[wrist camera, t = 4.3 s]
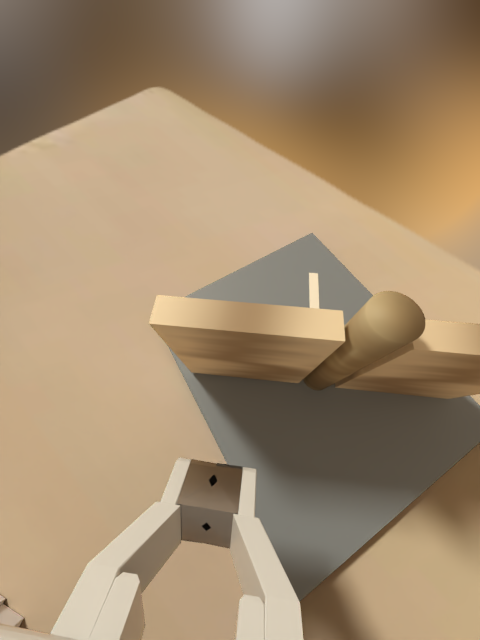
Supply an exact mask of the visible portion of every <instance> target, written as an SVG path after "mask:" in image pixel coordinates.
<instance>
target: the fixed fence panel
mask: <svg viewBox="0 0 480 640" xmlns="http://www.w3.org/2000/svg"><path fill="white" fill-rule="evenodd" d="M344 330H345V342H344V343H343V344H342V345H341V346H340V347H339V348H337V349H336V350H335V351H334V352H333V353H332V354H331V355H330V356H328V357H327V358H326V359H325V360H324V361H323V362H322V363H321V364H319V365H318V366H317V367H316V368H315V369H314V370H313V371H312V372H311V373H309V374H308V375H307V376H306V377H305V378H304V379H303V380H304V382H305V384H306V385H307V386H308V387H309V388H311V389H313V390H323V389H325V388H327V387H329V386H331V385H332V384H334V383H335V388H345V389H355V390H365V391H375V392H385V393H394V394H404V395H414V396H424V397H434V398H444V399H451V398H457V397H463V396H470V395H476V394H480V324H473V323H461V322H449V321H437V320H425V317H424V314H423V312H422V310H421V308H420V307H419V306H418V305H417V304H416V303H415V302H414V301H413V300H412V299H410V298H409V297H407V296H406V295H403V294H401V293H398V292H393V291H384V292H380V293H377V294H375V295H374V296H372V297H371V298H370V299H369V300H368V301H367V303H366V304H365V305H364V306H363V307H362V308H361V309H360V310H359V311H358V312H357V313H356V314H355V315H354V316H353V317H352V318H351V319H350V320H349V322H348V323H347V324H346V325H345V326H344Z"/></svg>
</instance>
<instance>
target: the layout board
mask: <svg viewBox="0 0 480 640" xmlns="http://www.w3.org/2000/svg"><path fill="white" fill-rule="evenodd" d="M372 296H373V295H372V294H371V293H370V292H369V291H368V290H367V289H366V288H365V287H364V286H363V285H362V284H361V283H360V282H359V281H358V280H357V279H356V278H355V277H354V276H353V275H352V274H351V272H350V271H349V270H348V269H347V268H346V267H345V266H344V265H343V264H342V263H341V262H340V261H339V260H338V259H337V258H336V257H335V256H334V255H333V254H332V253H331V252H330V251H329V250H328V249H327V248H326V247H325V246H324V245H323V244H322V243H321V242H320V240H319V239H318V238H317V237H316V236H315V235H314V234H313V233H311V234H309V235H307V236H305V237H303V238H301V239H299V240H297V241H295V242H293V243H291V244H289V245H287V246H285V247H283V248H281V249H279V250H277V251H275V252H273V253H271V254H269V255H267V256H265V257H263V258H261V259H259V260H257V261H255V262H253V263H251V264H249V265H247V266H245V267H243V268H241V269H239V270H237V271H235V272H233V273H231V274H229V275H227V276H225V277H223V278H221V279H219V280H217V281H215V282H213V283H211V284H209V285H207V286H205V287H203V288H201V289H199V290H197V291H195V292H194V293H192V294H190V295H188V296H186V298H198V299H210V300H222V301H234V302H246V303H258V304H270V305H282V306H294V307H306V308H318V309H330V310H341V311H343V318H344V326H345V325H346V324H347V323H348V322H349V320H350V319H351V318H352V317H353V316H354V315H355V314H356V313H357V312H358V311H359V310H360V309H361V308H362V307H363V306H364V305H365V304H366V303H367V301H368V300H369V299H370V298H371V297H372ZM168 347H169V346H168ZM169 349H170V351H171V353H172V355H173V357H174V359H175V361H176V363H177V365H178V367H179V369H180V371H181V373H182V375H183V377H184V379H185V381H186V383H187V385H188V387H189V389H190V391H191V393H192V395H193V397H194V399H195V401H196V402H197V404H198V406H199V408H200V410H201V412H202V414H203V416H204V418H205V420H206V422H207V424H208V426H209V428H210V430H211V432H212V434H213V436H214V438H215V440H216V442H217V444H218V446H219V448H220V450H221V452H222V454H223V456H224V458H225V460H226V462H227V464H228V465H235V466H242V467H246V468H254V469H256V471H257V476H256V501H255V517H257V518H259V519H260V521H261V523H262V525H263V527H264V529H265V531H266V533H267V535H268V538H269V540H270V542H271V544H272V546H273V548H274V550H275V552H276V554H277V556H278V558H279V560H280V562H281V564H282V567H283V569H284V571H285V573H286V575H287V577H288V579H289V581H290V583H291V585H292V587H293V589H294V591H295V594H296V596H297V598H298V600H299V602H300V601H301V600H302V599H303V598H304V597H305V596H306V595H308V594H309V593H310V592H311V591H312V590H313V589H314V588H315V587H317V586H318V585H319V584H320V583H321V582H322V581H323V580H325V579H326V578H327V577H328V576H329V575H330V574H331V573H332V572H334V571H335V570H336V569H337V568H338V567H339V566H340V565H342V564H343V563H344V562H345V561H346V560H347V559H348V558H349V557H351V556H352V555H353V554H354V553H355V552H356V551H357V550H358V549H360V548H361V547H362V546H363V545H364V544H365V543H366V542H368V541H369V540H370V539H371V538H372V537H373V536H374V535H375V534H377V533H378V532H379V531H380V530H381V529H382V528H383V527H384V526H386V525H387V524H388V523H389V522H390V521H391V520H392V519H394V518H395V517H396V516H397V515H398V514H399V513H400V512H401V511H403V510H404V509H405V508H406V507H407V506H408V505H409V504H411V503H412V502H413V501H414V500H415V499H416V498H417V497H418V496H420V495H421V494H422V493H423V492H424V491H425V490H426V489H427V488H429V487H430V486H431V485H432V484H433V483H434V482H435V481H437V480H438V479H439V478H440V477H441V476H442V475H443V474H444V473H446V472H447V471H448V470H449V469H450V468H451V467H452V466H454V465H455V464H456V463H457V462H458V461H459V460H460V459H461V458H463V457H464V456H465V455H466V454H467V453H468V452H469V451H470V450H472V449H473V448H474V447H475V446H476V445H477V444H478V443H480V406H479V405H478V404H477V403H476V401H475V400H474V399H473V398H472V397H471V396H463V397H457V398H451V399H444V398H434V397H424V396H414V395H404V394H394V393H385V392H375V391H365V390H355V389H345V388H335V383H334V384H332V385H331V386H329V387H327V388H325V389H323V390H313V389H311V388H309V387H308V386H307V385H306V384H305V382H304V380H302V381H300V382H299V383H290V382H280V381H270V380H260V379H250V378H240V377H231V376H221V375H211V374H201V373H192V372H191V371H190V370H189V369H188V368H187V367H186V366H185V364H184V363H183V362H182V361H181V360H180V359H179V358H178V356H177V355H176V354H175V353H174V352H173V351H172V350H171V348H170V347H169Z"/></svg>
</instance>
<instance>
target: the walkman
mask: <svg viewBox="0 0 480 640" xmlns="http://www.w3.org/2000/svg"><path fill="white" fill-rule="evenodd" d="M5 599H6V598H4V597H3V596H1V595H0V623H1V624H5V625H10V626H15V627H19V626H20V624H21V622H22V621H23V619H24V617H22V616H21V615H19V614H18V613H16V612H15V611H13V610H12V609H10V608H9V607H7V606H6V605H4V604H3V603H4V601H5Z"/></svg>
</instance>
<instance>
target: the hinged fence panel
mask: <svg viewBox="0 0 480 640" xmlns="http://www.w3.org/2000/svg"><path fill="white" fill-rule="evenodd" d="M149 324H150V325H151V327H152V328H153V329H154V330H155V331H156V332H157V333H158V335H159V336H160V337H161V338H162V339H163V340H164V341H165V343H166V344H167V345H168V346H169V347H170V348H171V350H172V351H173V352H174V353H175V354H176V355H177V356H178V358H179V359H180V360H181V361H182V362H183V363H184V364H185V366H186V367H187V368H188V369H189V370H190V371H191V372H192V373H201V374H211V375H221V376H231V377H240V378H250V379H260V380H270V381H280V382H290V383H299V382H300V381H302V380H303V379H304V378H305V377H306V376H307V375H308V374H309V373H311V372H312V371H313V370H314V369H315V368H316V367H317V366H318V365H319V364H321V363H322V362H323V361H324V360H325V359H326V358H327V357H328V356H330V355H331V354H332V353H333V352H334V351H335V350H336V349H337V348H339V347H340V346H341V345H342V344H343V343H344V342H345V330H344V318H343V311H341V310H330V309H318V308H306V307H294V306H282V305H270V304H258V303H246V302H234V301H222V300H210V299H198V298H186V297H174V296H162V295H157V297H156V300H155V304H154V307H153V311H152V314H151V318H150V321H149Z"/></svg>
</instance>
